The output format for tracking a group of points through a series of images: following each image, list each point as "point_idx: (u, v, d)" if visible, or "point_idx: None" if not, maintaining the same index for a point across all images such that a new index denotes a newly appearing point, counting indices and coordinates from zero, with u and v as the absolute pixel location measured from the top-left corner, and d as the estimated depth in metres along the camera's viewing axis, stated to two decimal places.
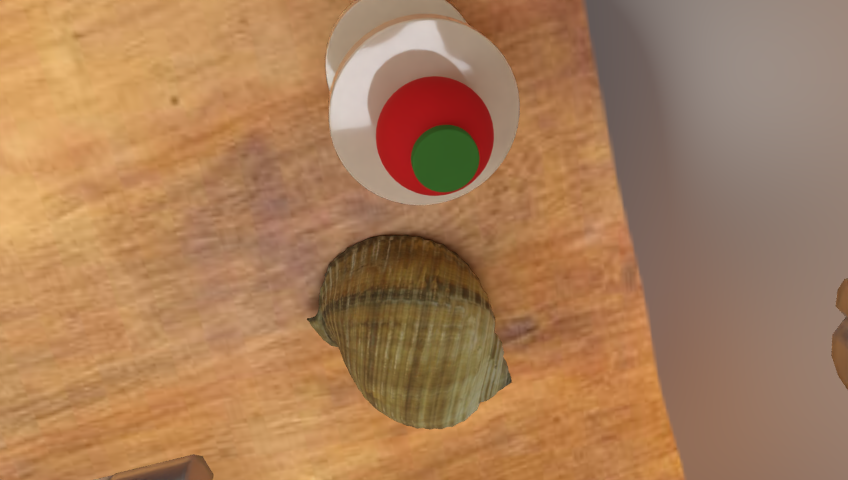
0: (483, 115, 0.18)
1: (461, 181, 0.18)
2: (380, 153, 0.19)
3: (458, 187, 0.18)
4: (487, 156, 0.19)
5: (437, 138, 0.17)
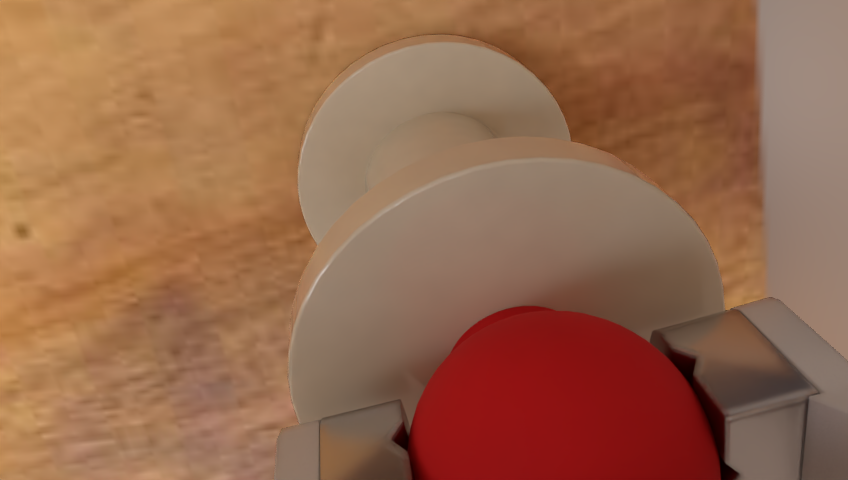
0: (712, 453, 0.07)
1: None
2: None
3: None
4: None
5: None
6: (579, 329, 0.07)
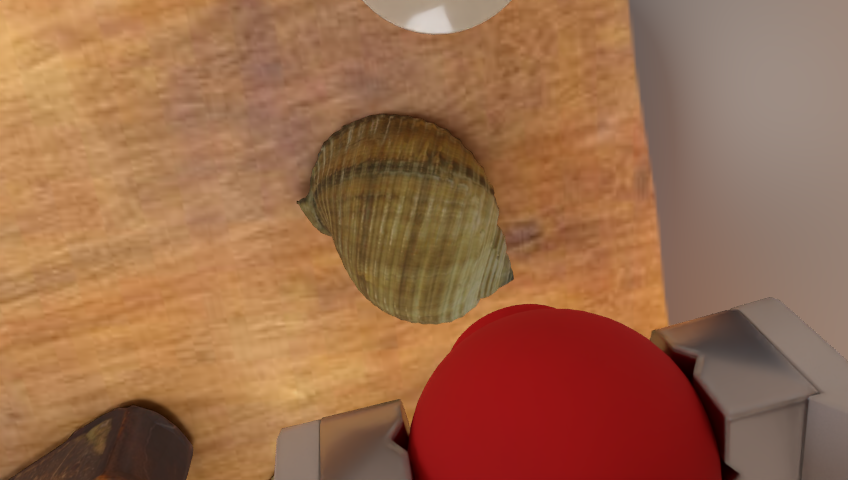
0: (712, 450, 0.07)
1: None
2: None
3: None
4: None
5: None
6: (579, 327, 0.07)
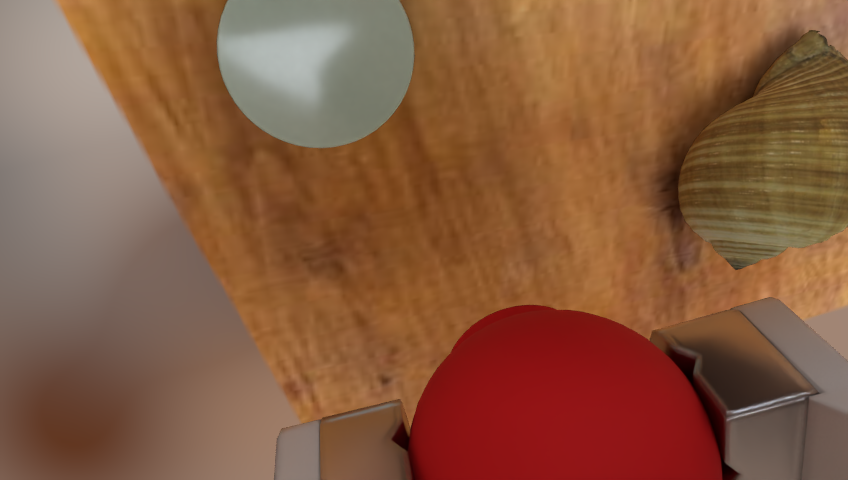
0: (713, 452, 0.07)
1: None
2: None
3: None
4: None
5: None
6: (580, 328, 0.07)
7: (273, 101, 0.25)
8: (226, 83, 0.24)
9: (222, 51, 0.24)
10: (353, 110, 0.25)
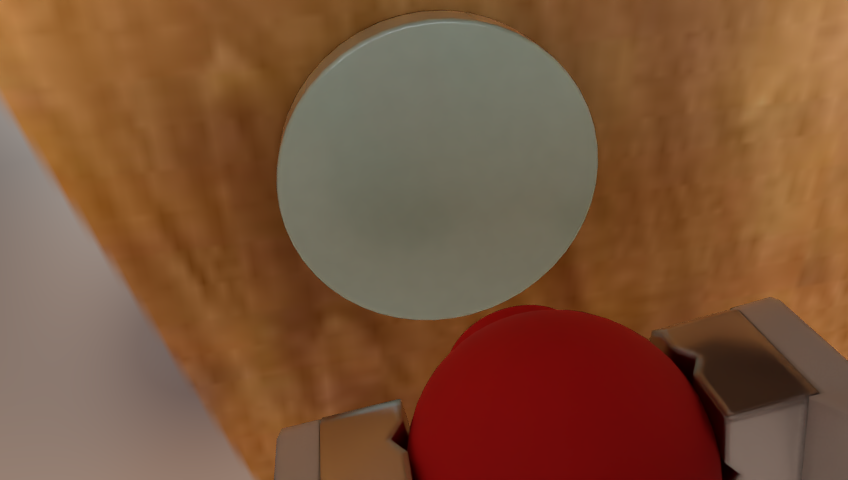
0: (712, 452, 0.07)
1: None
2: None
3: None
4: None
5: None
6: (579, 328, 0.07)
7: (364, 256, 0.15)
8: (290, 231, 0.14)
9: (285, 183, 0.14)
10: (490, 265, 0.16)
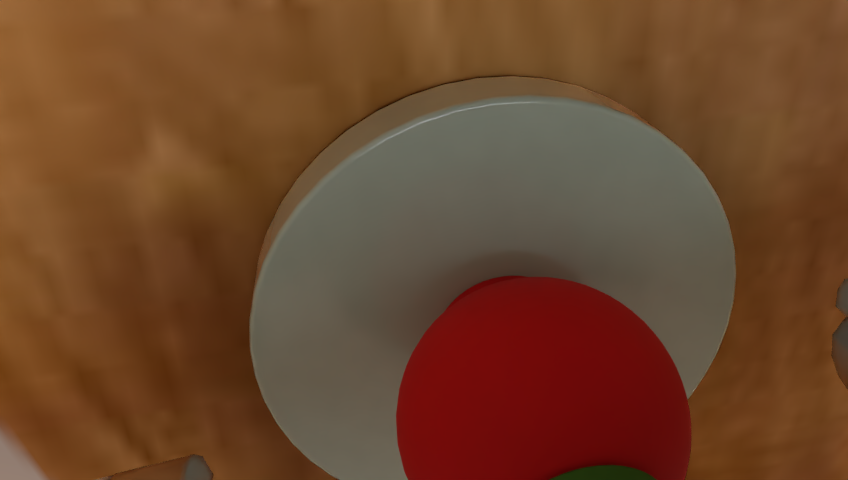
0: (681, 406, 0.07)
1: None
2: (408, 475, 0.08)
3: None
4: None
5: None
6: (558, 291, 0.07)
7: (384, 434, 0.10)
8: (271, 407, 0.10)
9: (264, 342, 0.09)
10: None
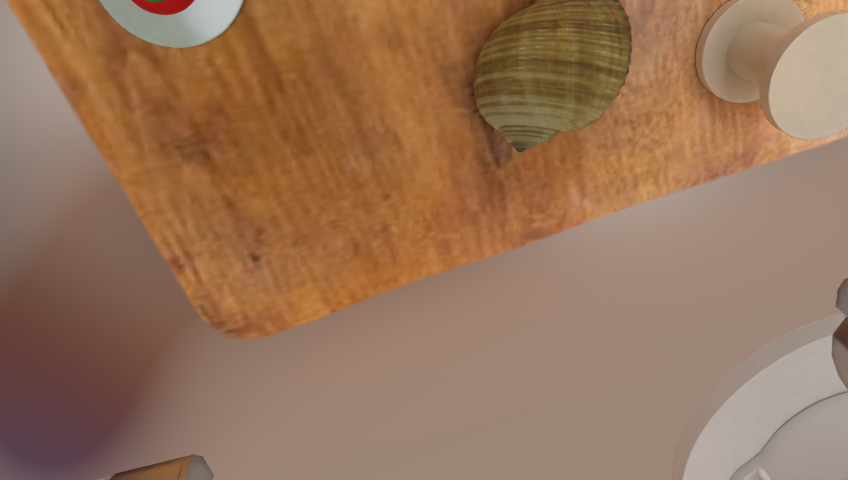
0: None
1: None
2: None
3: None
4: None
5: None
6: None
7: (135, 7, 0.31)
8: None
9: None
10: (200, 16, 0.32)
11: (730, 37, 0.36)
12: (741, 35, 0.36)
